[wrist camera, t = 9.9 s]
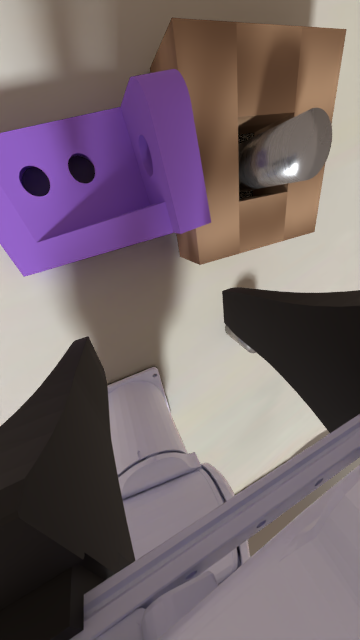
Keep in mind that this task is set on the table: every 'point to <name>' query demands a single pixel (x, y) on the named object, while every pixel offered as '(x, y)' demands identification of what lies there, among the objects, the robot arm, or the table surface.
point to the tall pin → (286, 151)
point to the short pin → (238, 340)
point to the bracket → (105, 178)
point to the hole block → (249, 121)
